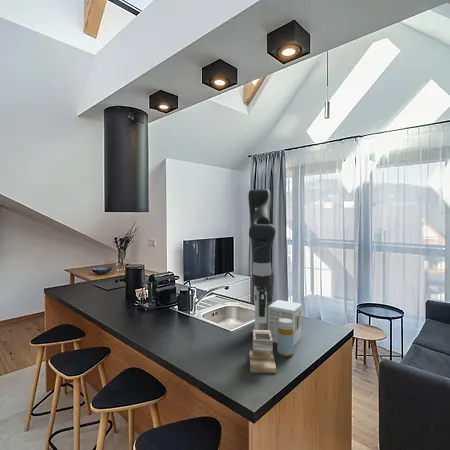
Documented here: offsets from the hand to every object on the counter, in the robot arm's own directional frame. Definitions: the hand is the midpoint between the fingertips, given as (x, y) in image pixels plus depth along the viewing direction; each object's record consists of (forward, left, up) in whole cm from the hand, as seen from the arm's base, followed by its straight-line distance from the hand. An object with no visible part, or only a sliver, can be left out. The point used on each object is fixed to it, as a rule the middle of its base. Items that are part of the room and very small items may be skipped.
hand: (261, 314), depth 117 cm
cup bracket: (-1, 0, -21) cm, 21 cm away
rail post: (0, 0, -3) cm, 3 cm away
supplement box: (-26, +13, -21) cm, 36 cm away
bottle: (-11, +11, -21) cm, 26 cm away
